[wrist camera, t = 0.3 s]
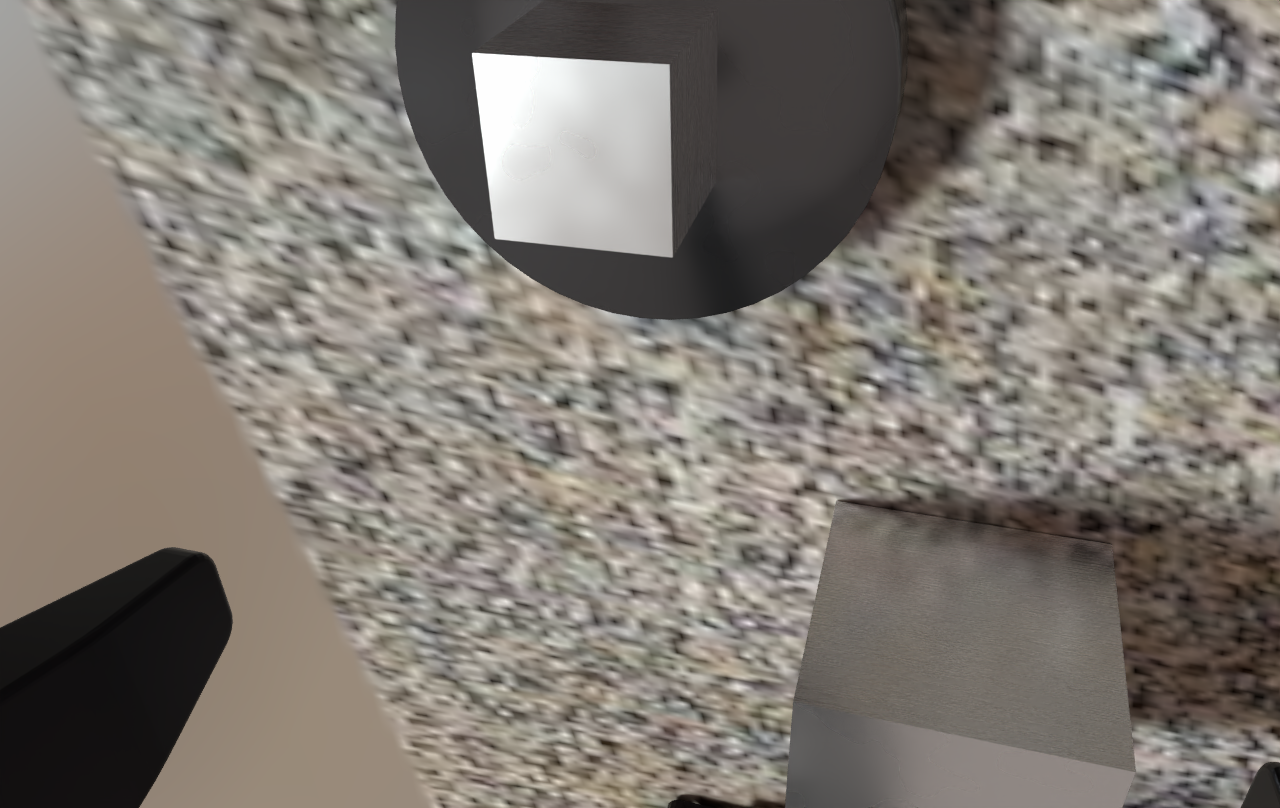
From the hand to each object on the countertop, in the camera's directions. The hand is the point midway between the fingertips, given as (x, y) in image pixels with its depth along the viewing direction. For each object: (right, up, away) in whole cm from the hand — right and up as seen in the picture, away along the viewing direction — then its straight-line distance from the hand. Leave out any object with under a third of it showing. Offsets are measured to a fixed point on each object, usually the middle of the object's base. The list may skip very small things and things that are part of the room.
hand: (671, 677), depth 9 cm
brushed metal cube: (+7, -3, +17) cm, 18 cm away
